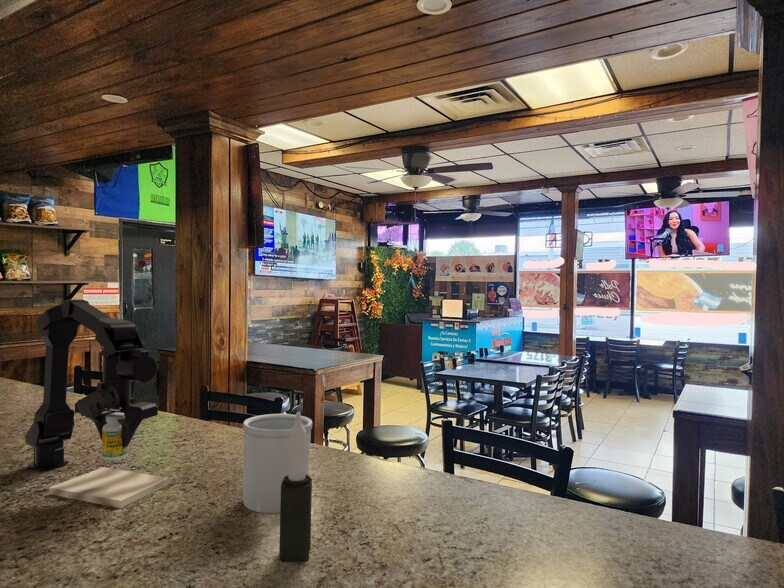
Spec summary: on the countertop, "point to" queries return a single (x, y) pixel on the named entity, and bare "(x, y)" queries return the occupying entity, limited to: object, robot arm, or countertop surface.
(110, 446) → the supplement bottle
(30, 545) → the countertop surface
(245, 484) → the utensil holder
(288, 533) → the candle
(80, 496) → the serving board
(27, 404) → the countertop surface
